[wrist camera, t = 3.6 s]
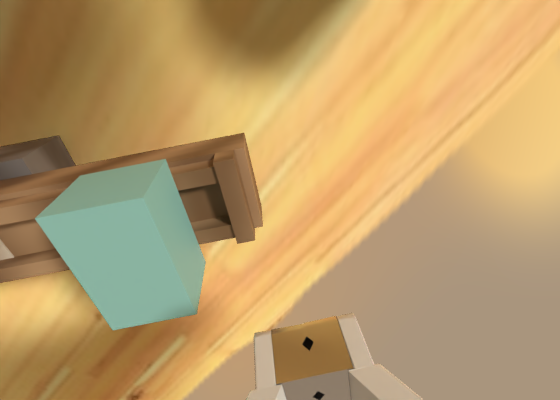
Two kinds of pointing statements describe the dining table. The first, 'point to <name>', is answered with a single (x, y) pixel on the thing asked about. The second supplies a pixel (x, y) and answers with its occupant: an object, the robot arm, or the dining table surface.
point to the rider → (128, 243)
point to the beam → (63, 172)
